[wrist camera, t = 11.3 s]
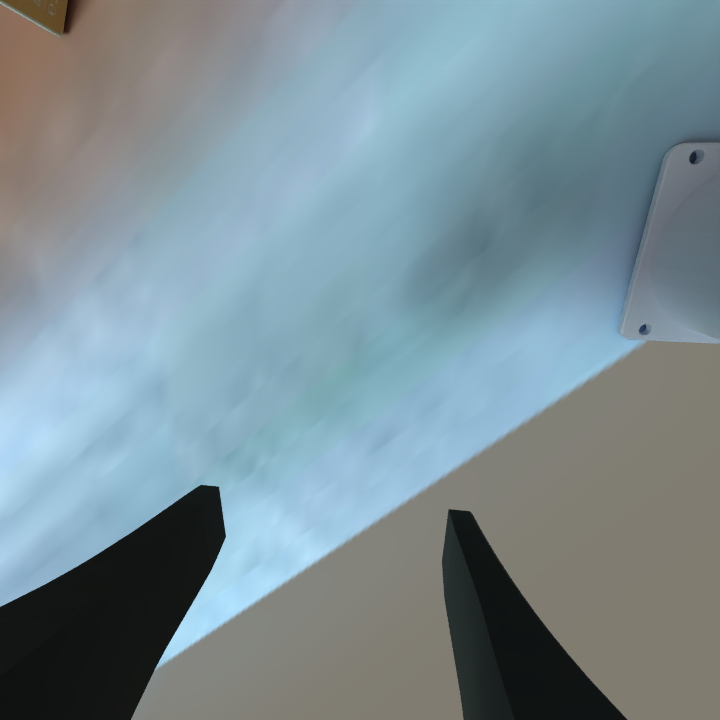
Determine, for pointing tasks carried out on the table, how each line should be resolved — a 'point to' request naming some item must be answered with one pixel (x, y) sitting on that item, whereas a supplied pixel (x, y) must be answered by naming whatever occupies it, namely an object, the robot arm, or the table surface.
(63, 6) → the small box
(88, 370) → the table surface
